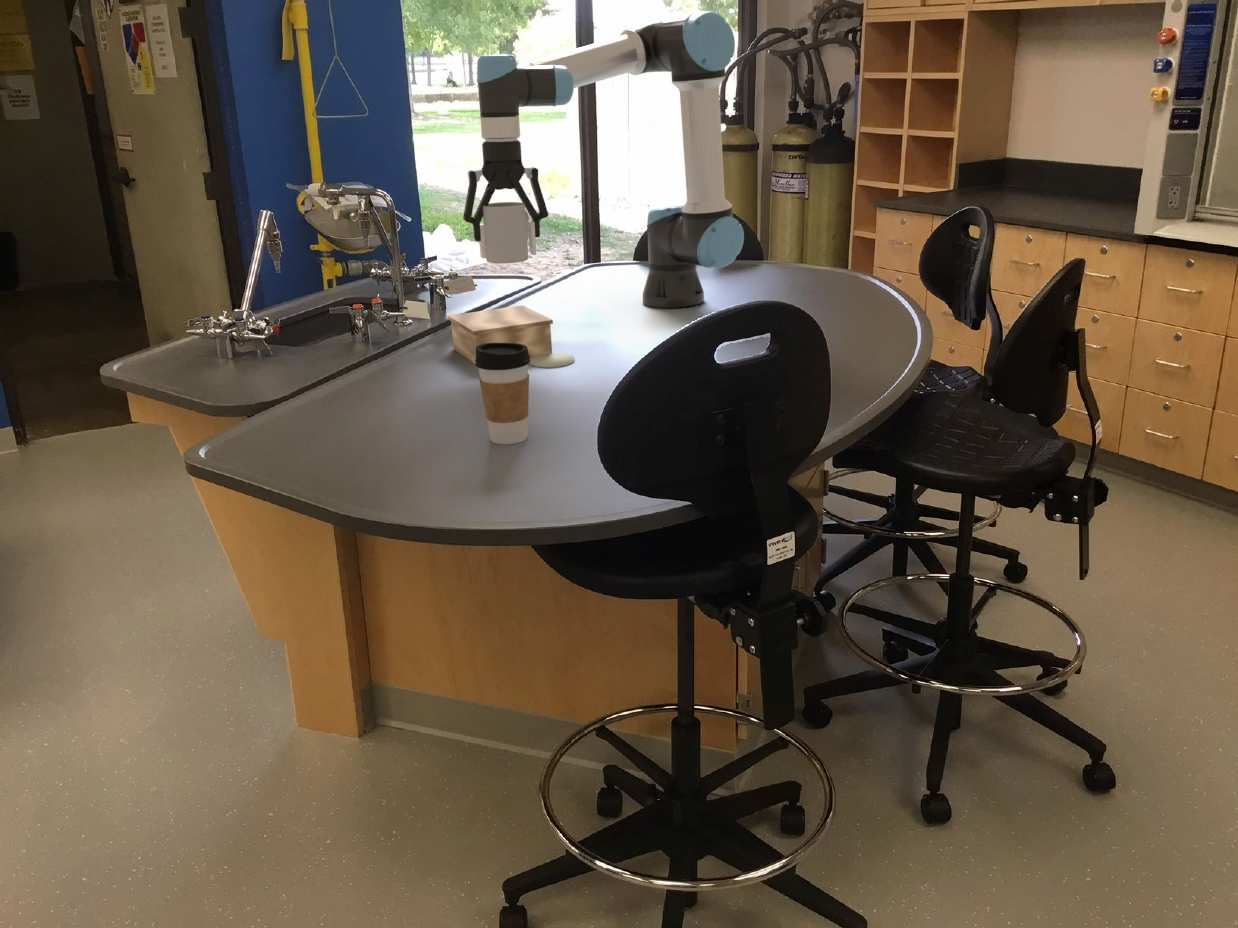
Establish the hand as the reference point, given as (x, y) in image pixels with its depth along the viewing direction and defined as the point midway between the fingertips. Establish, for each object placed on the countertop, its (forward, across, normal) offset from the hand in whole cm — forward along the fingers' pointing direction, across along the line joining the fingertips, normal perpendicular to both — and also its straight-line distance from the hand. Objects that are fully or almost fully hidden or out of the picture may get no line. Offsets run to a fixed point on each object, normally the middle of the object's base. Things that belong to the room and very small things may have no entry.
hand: (508, 255), depth 205 cm
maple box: (+20, +3, +1) cm, 20 cm away
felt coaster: (+20, -5, +13) cm, 24 cm away
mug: (+1, -1, 0) cm, 1 cm away
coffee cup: (+20, +11, +55) cm, 59 cm away
